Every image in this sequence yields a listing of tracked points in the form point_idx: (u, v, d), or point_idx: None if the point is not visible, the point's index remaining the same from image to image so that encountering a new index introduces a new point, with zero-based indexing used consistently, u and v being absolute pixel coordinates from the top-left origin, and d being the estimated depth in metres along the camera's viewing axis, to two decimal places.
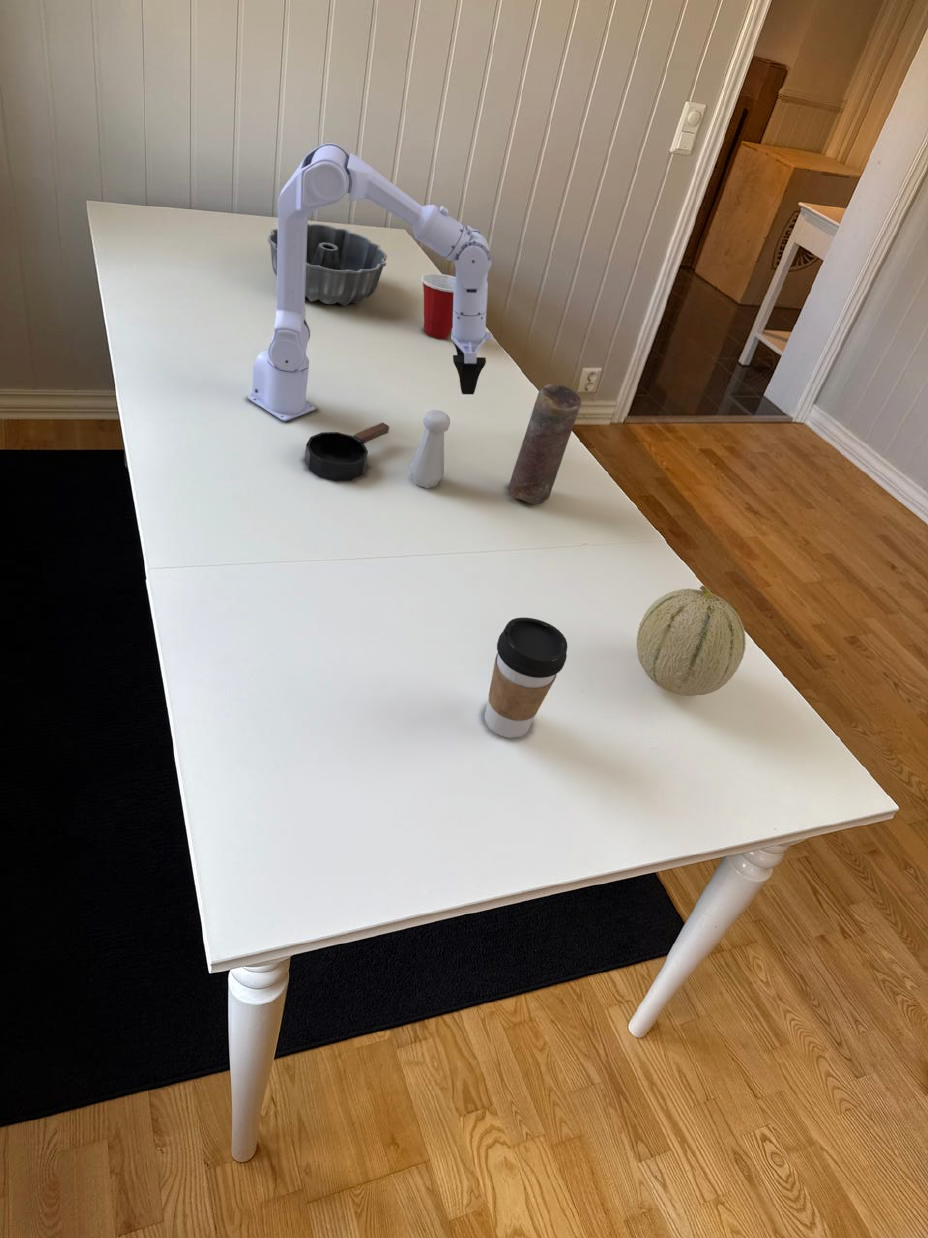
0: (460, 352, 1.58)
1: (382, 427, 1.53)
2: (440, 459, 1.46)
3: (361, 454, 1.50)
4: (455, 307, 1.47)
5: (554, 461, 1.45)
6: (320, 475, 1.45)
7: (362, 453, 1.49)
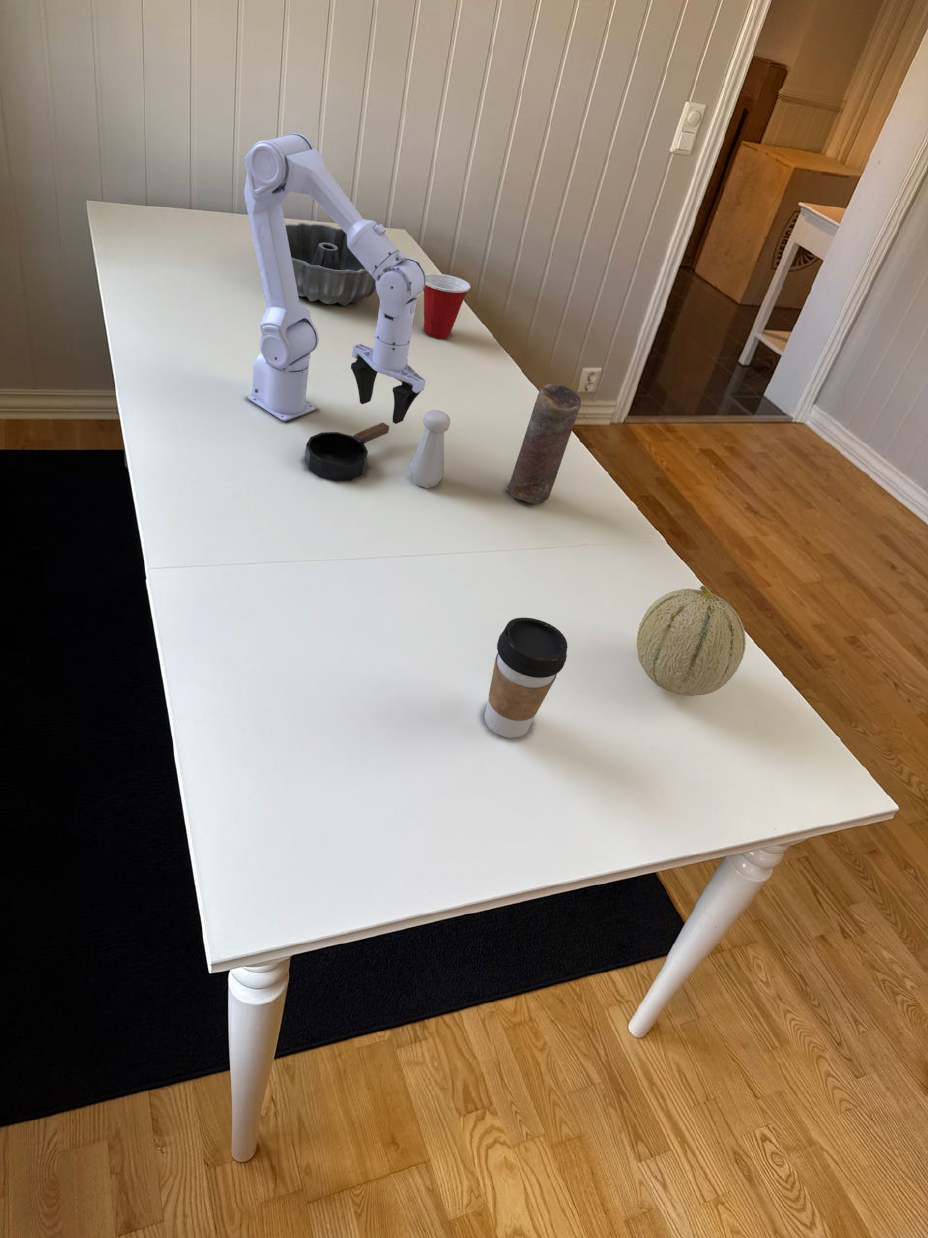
0: (364, 382, 1.49)
1: (382, 427, 1.53)
2: (440, 459, 1.46)
3: (361, 454, 1.50)
4: (376, 329, 1.41)
5: (554, 461, 1.45)
6: (320, 475, 1.45)
7: (362, 453, 1.49)
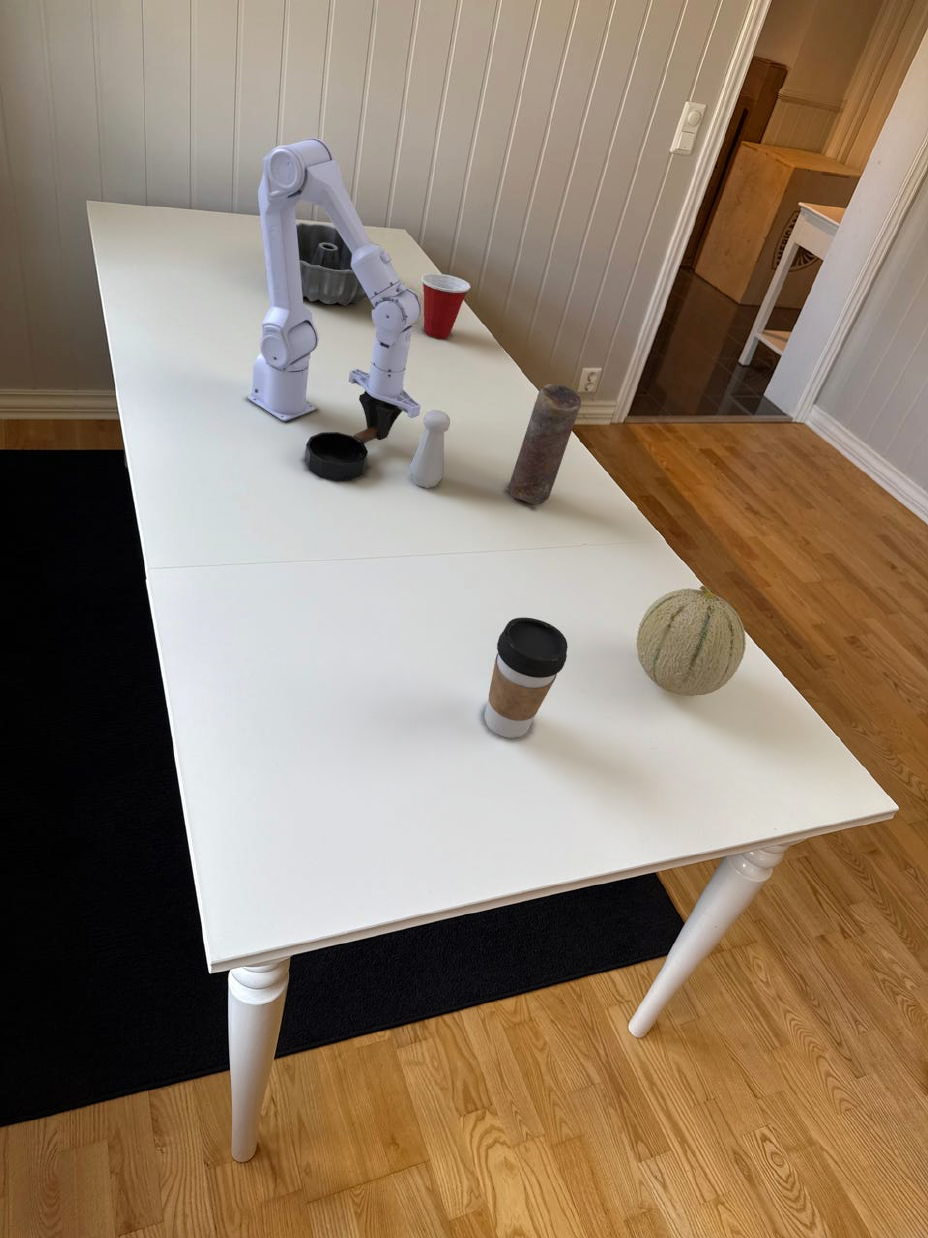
0: (372, 413, 1.51)
1: None
2: (440, 459, 1.46)
3: (361, 454, 1.50)
4: (372, 356, 1.44)
5: (554, 461, 1.45)
6: (320, 475, 1.45)
7: (362, 453, 1.49)
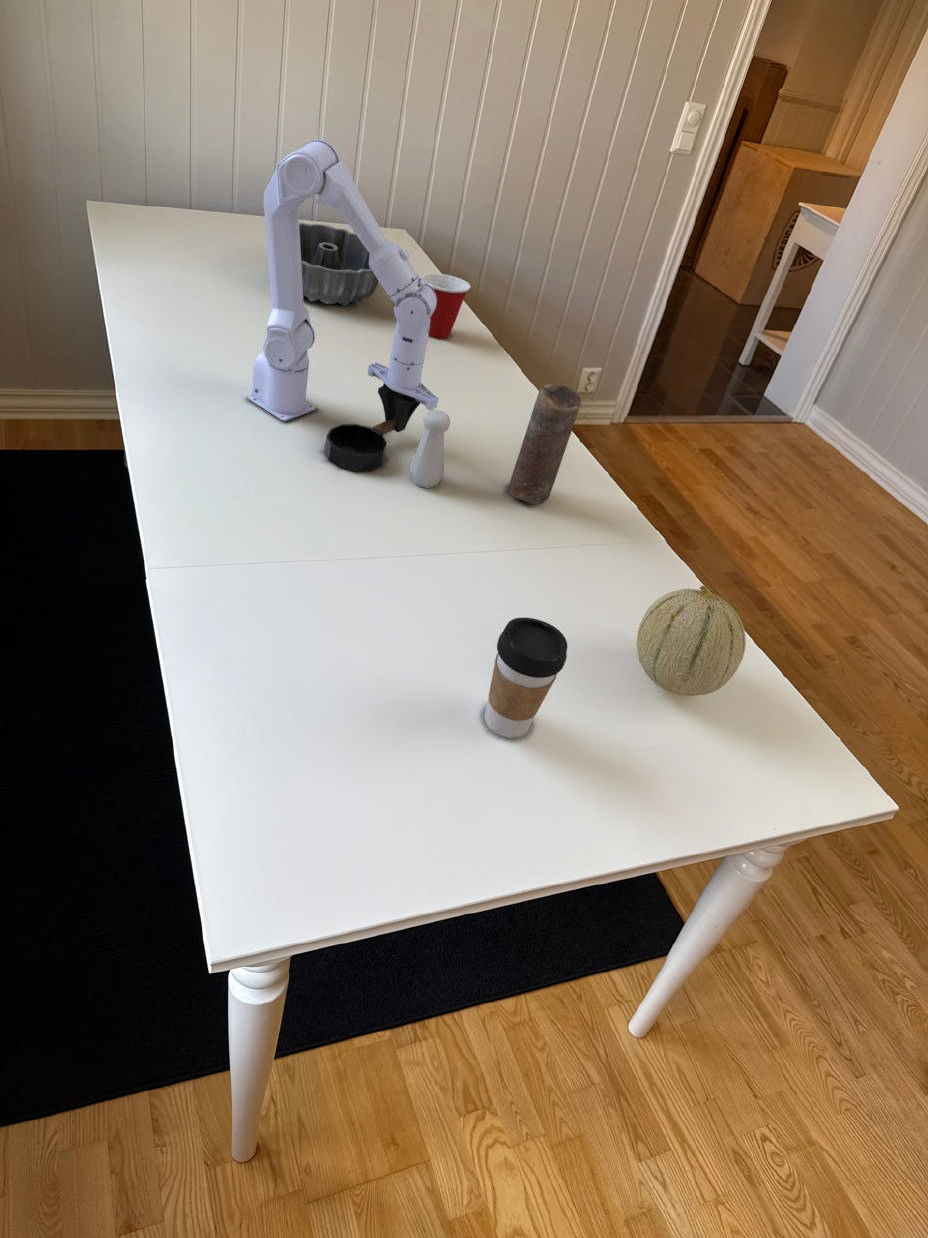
0: (390, 406, 1.54)
1: None
2: (440, 459, 1.46)
3: (380, 445, 1.53)
4: (392, 351, 1.47)
5: (554, 461, 1.45)
6: (340, 466, 1.48)
7: (381, 444, 1.52)
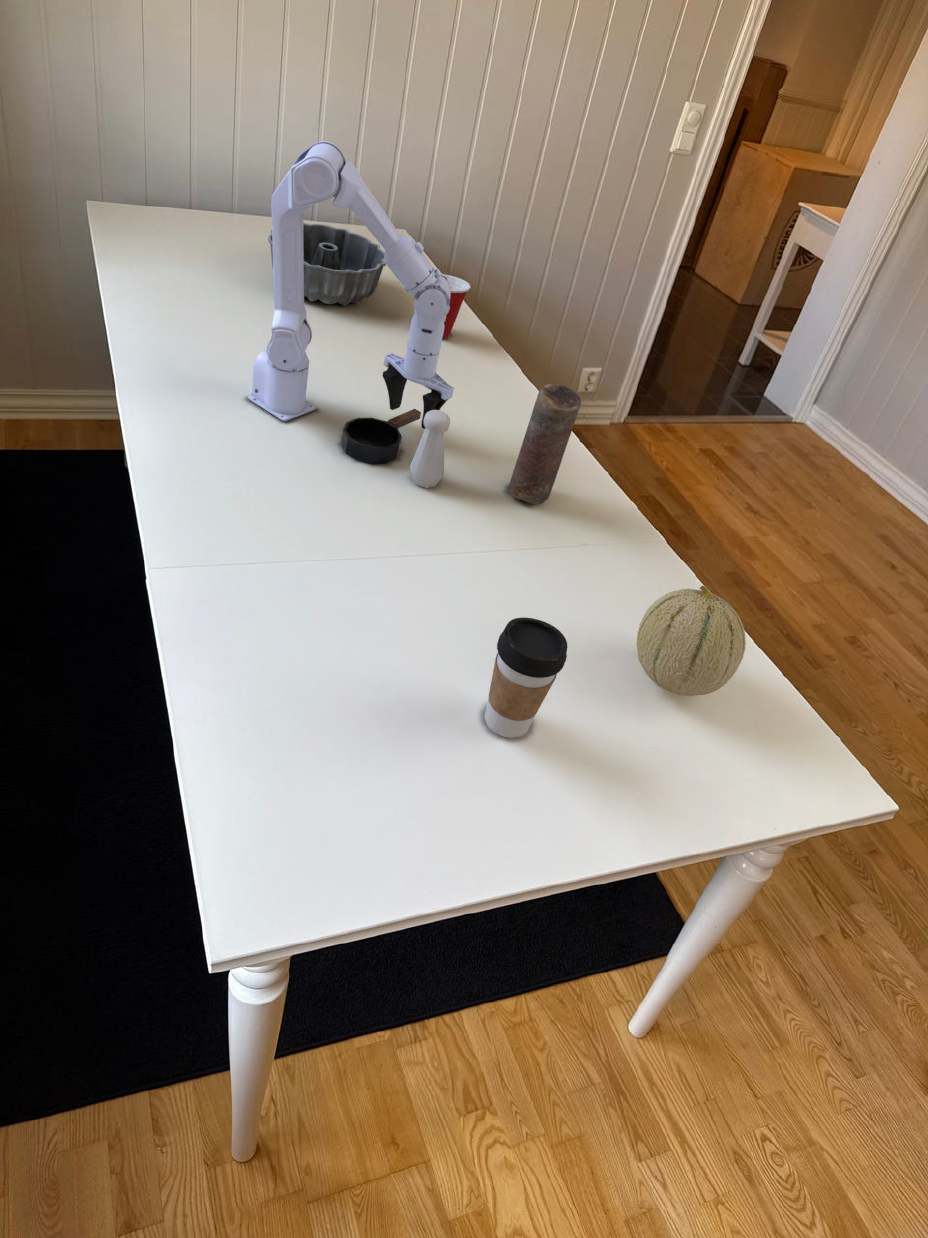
0: (394, 389, 1.58)
1: (414, 413, 1.59)
2: (440, 459, 1.46)
3: (395, 439, 1.56)
4: (409, 343, 1.49)
5: (554, 461, 1.45)
6: (357, 458, 1.51)
7: (396, 438, 1.55)
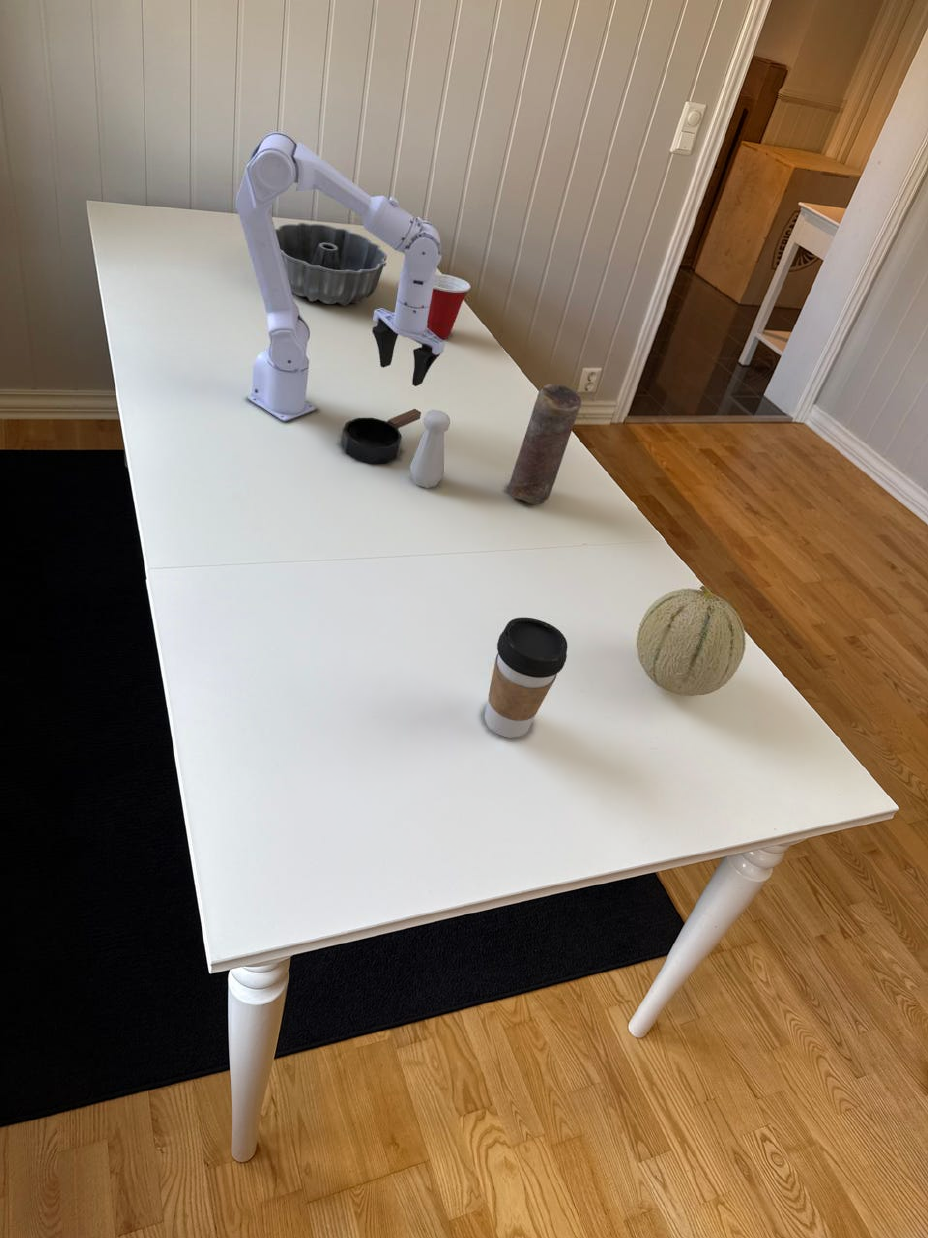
0: (384, 345, 1.54)
1: (414, 413, 1.59)
2: (440, 459, 1.46)
3: (395, 439, 1.56)
4: (399, 296, 1.46)
5: (554, 461, 1.45)
6: (357, 458, 1.51)
7: (396, 438, 1.55)
